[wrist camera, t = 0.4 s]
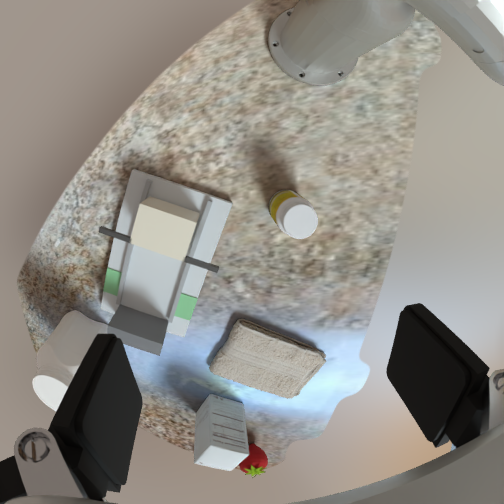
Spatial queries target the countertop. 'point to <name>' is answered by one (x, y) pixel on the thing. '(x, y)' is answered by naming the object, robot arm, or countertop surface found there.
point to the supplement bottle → (293, 214)
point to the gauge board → (158, 266)
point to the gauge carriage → (163, 230)
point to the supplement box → (220, 433)
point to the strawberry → (254, 461)
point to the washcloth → (266, 360)
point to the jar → (64, 356)
